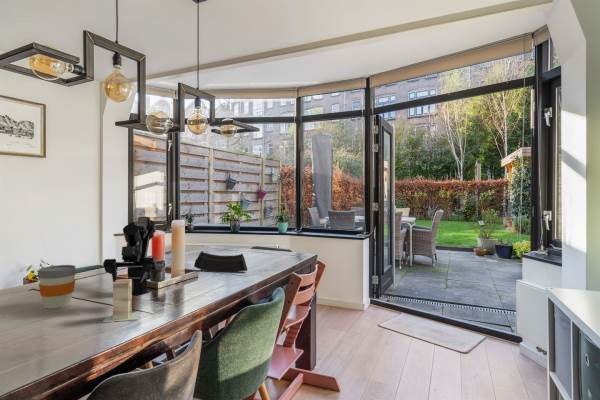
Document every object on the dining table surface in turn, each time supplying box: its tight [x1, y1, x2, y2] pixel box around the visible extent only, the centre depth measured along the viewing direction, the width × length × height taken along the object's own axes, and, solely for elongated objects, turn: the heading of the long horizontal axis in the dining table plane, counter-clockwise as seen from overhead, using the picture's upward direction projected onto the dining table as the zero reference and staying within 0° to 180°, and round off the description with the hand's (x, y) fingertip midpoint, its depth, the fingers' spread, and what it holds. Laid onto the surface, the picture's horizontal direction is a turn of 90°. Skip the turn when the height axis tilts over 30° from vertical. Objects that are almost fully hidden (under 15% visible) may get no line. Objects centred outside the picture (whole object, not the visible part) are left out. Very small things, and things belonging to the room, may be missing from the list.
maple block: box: [112, 278, 133, 320], centre depth 127 cm, size 5×5×13 cm
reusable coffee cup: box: [37, 264, 77, 309], centre depth 140 cm, size 13×13×15 cm
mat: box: [102, 311, 142, 323], centre depth 127 cm, size 8×11×1 cm
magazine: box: [193, 250, 248, 273], centre depth 203 cm, size 18×3×31 cm
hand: (127, 283), depth 134 cm, fingers open, 9 cm apart
